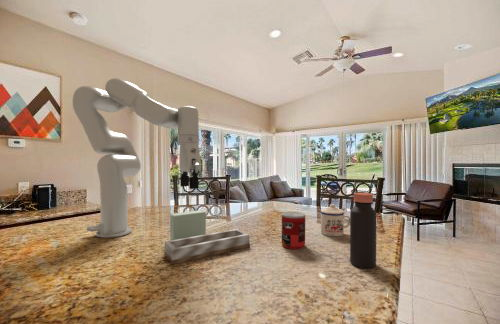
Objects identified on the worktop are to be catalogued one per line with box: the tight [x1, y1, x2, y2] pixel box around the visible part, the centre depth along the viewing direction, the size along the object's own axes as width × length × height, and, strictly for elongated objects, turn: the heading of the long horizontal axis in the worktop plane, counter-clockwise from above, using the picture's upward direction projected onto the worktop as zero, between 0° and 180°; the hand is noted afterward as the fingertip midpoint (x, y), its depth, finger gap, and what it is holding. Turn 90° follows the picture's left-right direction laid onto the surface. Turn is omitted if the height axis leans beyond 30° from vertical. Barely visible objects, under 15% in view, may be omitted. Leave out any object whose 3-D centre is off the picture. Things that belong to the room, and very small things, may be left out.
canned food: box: [281, 211, 306, 250], centre depth 86 cm, size 8×8×11 cm
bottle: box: [349, 192, 377, 270], centre depth 71 cm, size 7×7×20 cm
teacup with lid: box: [320, 203, 350, 237], centre depth 100 cm, size 12×9×12 cm
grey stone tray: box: [164, 228, 251, 265], centre depth 82 cm, size 26×9×4 cm, turn 123°
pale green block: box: [169, 209, 207, 241], centre depth 92 cm, size 12×4×10 cm, turn 123°
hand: (189, 187), depth 92 cm, fingers open, 9 cm apart
